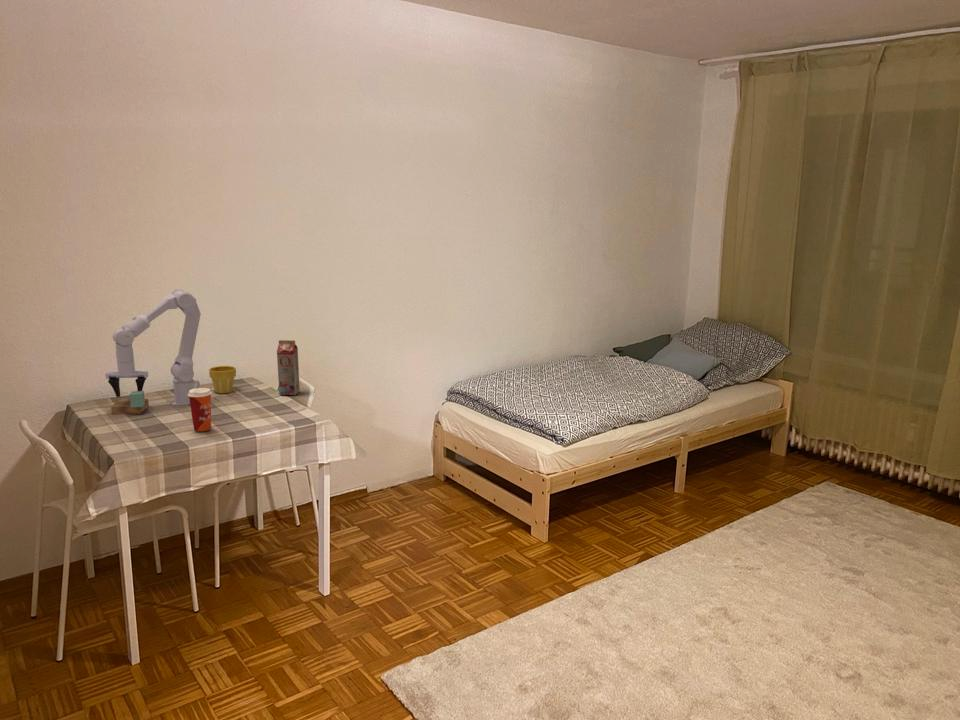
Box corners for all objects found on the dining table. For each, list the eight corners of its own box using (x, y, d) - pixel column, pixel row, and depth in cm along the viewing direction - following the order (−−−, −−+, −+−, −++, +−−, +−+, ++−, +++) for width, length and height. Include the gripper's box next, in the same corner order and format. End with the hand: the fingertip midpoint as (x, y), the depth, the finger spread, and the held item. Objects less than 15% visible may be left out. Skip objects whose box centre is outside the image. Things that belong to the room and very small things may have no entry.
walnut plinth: (148, 406, 279) (148, 398, 278) (140, 413, 269) (139, 406, 268) (121, 406, 278) (120, 399, 277) (111, 414, 268) (111, 406, 267)
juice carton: (295, 394, 296) (292, 342, 291) (279, 394, 296) (276, 341, 291) (299, 390, 303) (297, 338, 297) (283, 390, 303) (281, 338, 298)
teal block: (145, 403, 271) (143, 390, 270) (142, 406, 268) (141, 393, 266) (133, 404, 271) (132, 391, 269) (130, 407, 267) (129, 394, 266)
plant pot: (240, 387, 306) (238, 365, 303) (233, 394, 295) (231, 371, 293) (215, 388, 305) (213, 365, 303) (207, 394, 295) (205, 371, 293)
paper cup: (207, 433, 249) (204, 393, 246) (186, 431, 250) (183, 392, 247) (218, 426, 256) (215, 387, 253) (198, 424, 258) (195, 386, 254)
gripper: (149, 358, 274) (152, 392, 277) (108, 359, 272) (112, 393, 275) (143, 362, 267) (147, 398, 270) (101, 363, 265) (105, 399, 268)
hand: (129, 396), depth 272 cm, fingers open, 7 cm apart
